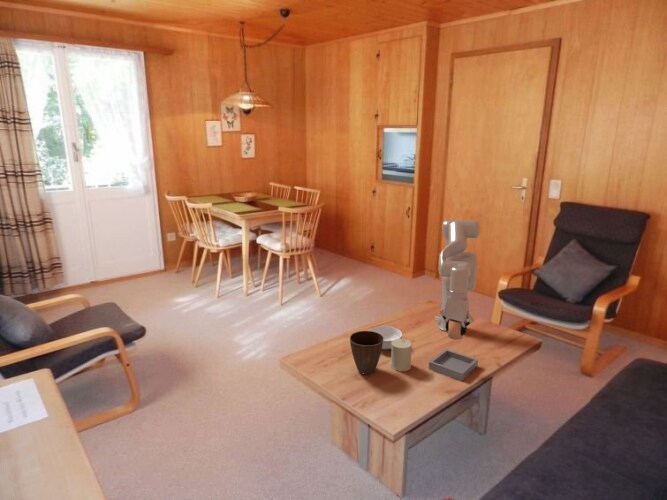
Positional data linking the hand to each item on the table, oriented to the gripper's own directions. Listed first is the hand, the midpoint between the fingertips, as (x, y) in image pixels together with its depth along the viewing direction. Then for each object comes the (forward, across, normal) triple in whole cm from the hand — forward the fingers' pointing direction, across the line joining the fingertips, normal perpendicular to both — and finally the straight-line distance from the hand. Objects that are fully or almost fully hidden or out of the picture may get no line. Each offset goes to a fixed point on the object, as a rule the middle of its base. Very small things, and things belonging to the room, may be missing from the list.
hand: (455, 331), depth 200 cm
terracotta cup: (+2, 0, 0) cm, 2 cm away
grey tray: (+18, 0, 0) cm, 18 cm away
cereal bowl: (+18, -36, -2) cm, 40 cm away
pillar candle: (+18, -19, -14) cm, 30 cm away
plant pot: (+18, -29, -27) cm, 43 cm away
